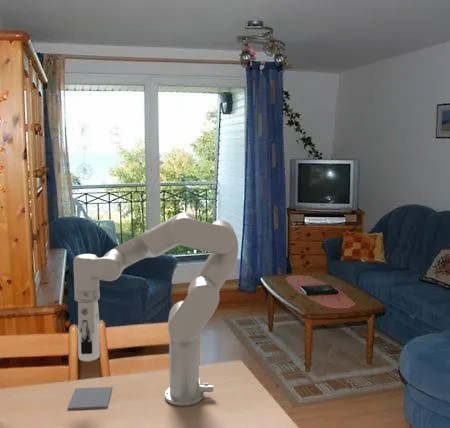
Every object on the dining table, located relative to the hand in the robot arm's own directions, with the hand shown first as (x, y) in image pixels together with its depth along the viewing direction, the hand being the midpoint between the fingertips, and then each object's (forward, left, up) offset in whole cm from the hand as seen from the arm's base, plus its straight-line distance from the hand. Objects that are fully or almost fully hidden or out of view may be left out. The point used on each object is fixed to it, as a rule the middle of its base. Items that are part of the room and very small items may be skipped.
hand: (88, 348), depth 154 cm
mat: (0, 0, -17) cm, 17 cm away
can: (0, 0, -3) cm, 3 cm away
